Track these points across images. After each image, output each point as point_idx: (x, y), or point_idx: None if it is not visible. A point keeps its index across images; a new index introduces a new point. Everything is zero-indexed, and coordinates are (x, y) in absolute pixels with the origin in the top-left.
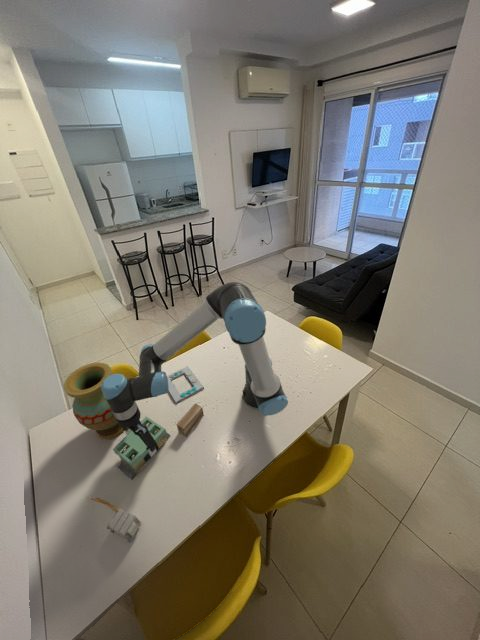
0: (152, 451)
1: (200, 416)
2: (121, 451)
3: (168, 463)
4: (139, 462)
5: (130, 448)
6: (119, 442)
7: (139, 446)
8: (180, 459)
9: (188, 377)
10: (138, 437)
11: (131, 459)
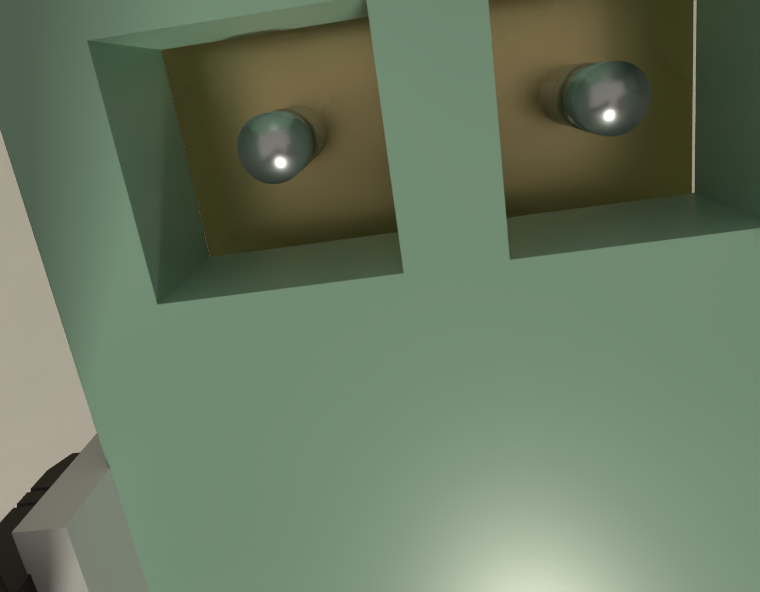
0: (43, 476)
1: None
2: (691, 40)
3: (76, 390)
4: (197, 163)
5: (442, 225)
6: None
7: (299, 399)
8: (21, 497)
9: None
10: (537, 506)
11: (349, 90)
